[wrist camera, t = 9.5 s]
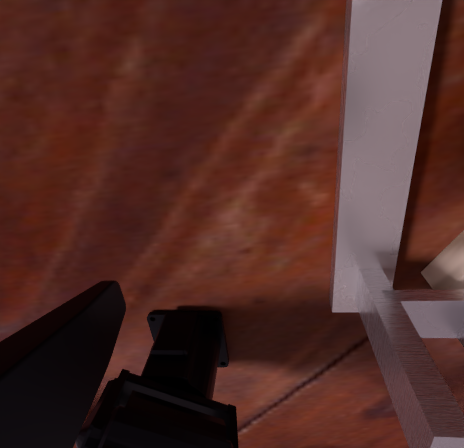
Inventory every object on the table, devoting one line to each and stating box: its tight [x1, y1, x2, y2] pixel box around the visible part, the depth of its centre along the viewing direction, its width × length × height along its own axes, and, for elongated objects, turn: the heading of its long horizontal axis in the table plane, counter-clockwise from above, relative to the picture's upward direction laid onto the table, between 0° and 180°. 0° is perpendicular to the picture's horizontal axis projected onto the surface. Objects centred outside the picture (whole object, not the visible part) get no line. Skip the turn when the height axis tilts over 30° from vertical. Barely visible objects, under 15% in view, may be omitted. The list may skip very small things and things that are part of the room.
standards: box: [329, 0, 464, 448], centre depth 13 cm, size 24×8×12 cm, turn 6°
